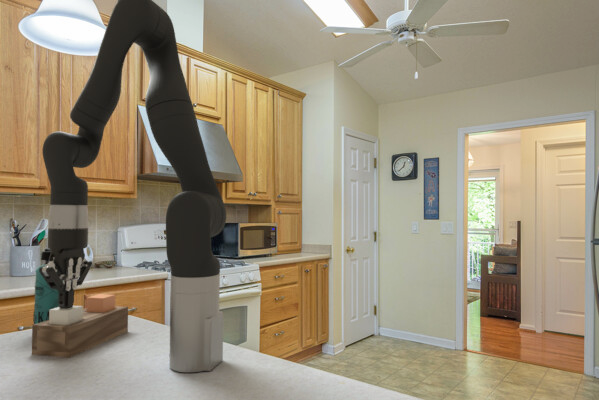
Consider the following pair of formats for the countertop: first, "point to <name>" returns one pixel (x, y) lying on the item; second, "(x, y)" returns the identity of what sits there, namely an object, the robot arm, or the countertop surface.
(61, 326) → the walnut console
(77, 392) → the countertop surface
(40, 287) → the beverage bottle
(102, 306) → the terracotta plug
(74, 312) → the white plug
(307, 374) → the countertop surface
